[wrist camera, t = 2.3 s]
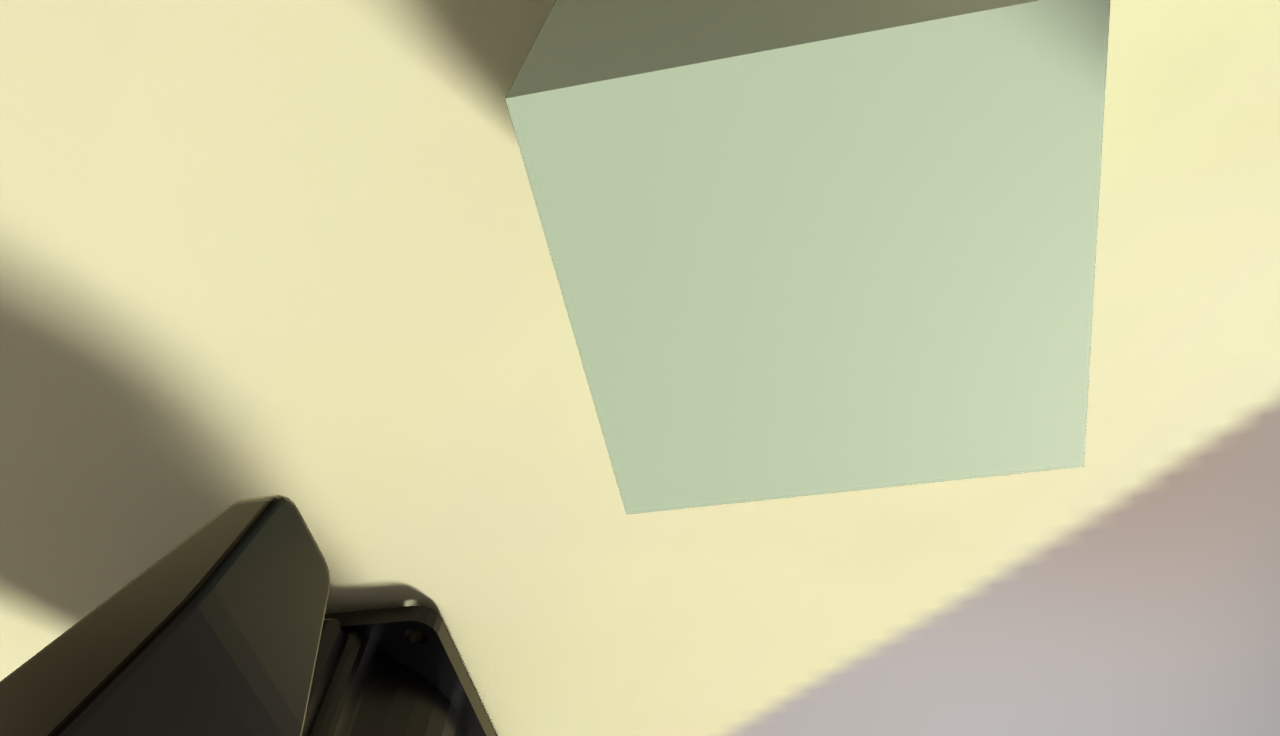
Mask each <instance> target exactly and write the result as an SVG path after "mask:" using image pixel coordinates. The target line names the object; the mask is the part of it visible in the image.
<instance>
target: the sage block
mask: <svg viewBox="0 0 1280 736" xmlns="http://www.w3.org/2000/svg"><path fill="white" fill-rule="evenodd" d="M1109 15H1110V0H556V1H555V3H554V5H553V7H552V9H551V11H550V13H549V15H548V17H547V19H546V21H545V22H544V24H543V26H542V28H541V30H540V32H539V34H538V36H537V38H536V40H535V42H534V44H533V46H532V48H531V50H530V52H529V53H528V55H527V57H526V59H525V61H524V63H523V65H522V67H521V69H520V71H519V73H518V75H517V77H516V79H515V81H514V83H513V84H512V86H511V88H510V90H509V92H508V94H507V96H506V98H505V100H506V103H507V107H508V110H509V113H510V117H511V120H512V124H513V127H514V131H515V134H516V137H517V141H518V144H519V148H520V151H521V155H522V158H523V161H524V165H525V168H526V172H527V175H528V179H529V182H530V185H531V189H532V192H533V196H534V199H535V203H536V206H537V209H538V213H539V216H540V220H541V223H542V227H543V230H544V234H545V237H546V240H547V244H548V247H549V251H550V254H551V258H552V261H553V264H554V268H555V271H556V275H557V278H558V282H559V285H560V288H561V292H562V295H563V299H564V302H565V306H566V309H567V312H568V316H569V319H570V323H571V326H572V330H573V333H574V336H575V340H576V343H577V347H578V350H579V354H580V357H581V360H582V364H583V367H584V371H585V374H586V378H587V381H588V385H589V388H590V391H591V395H592V398H593V402H594V405H595V409H596V412H597V415H598V419H599V422H600V426H601V429H602V433H603V436H604V439H605V443H606V446H607V450H608V453H609V457H610V460H611V463H612V467H613V470H614V474H615V477H616V481H617V484H618V487H619V491H620V494H621V498H622V501H623V505H624V508H625V512H626V514H635V513H645V512H654V511H664V510H674V509H683V508H693V507H702V506H712V505H722V504H731V503H741V502H750V501H760V500H769V499H779V498H789V497H798V496H808V495H817V494H827V493H837V492H846V491H856V490H865V489H875V488H885V487H894V486H904V485H913V484H923V483H933V482H942V481H952V480H961V479H971V478H980V477H990V476H1000V475H1009V474H1019V473H1028V472H1038V471H1048V470H1057V469H1067V468H1076V467H1084V454H1085V437H1086V419H1087V402H1088V384H1089V366H1090V349H1091V331H1092V314H1093V296H1094V279H1095V261H1096V243H1097V226H1098V208H1099V191H1100V173H1101V156H1102V138H1103V120H1104V103H1105V85H1106V68H1107V50H1108V33H1109Z"/></svg>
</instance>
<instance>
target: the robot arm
mask: <svg viewBox="0 0 1280 736" xmlns="http://www.w3.org/2000/svg"><path fill="white" fill-rule="evenodd" d="M329 587H330V578H329V571H328V567H327V563H326V561H325V559H324V557H323V555H322V553H321V551H320V549H319V547H318V545H317V544H316V542H315V540H314V538H313V536H312V534H311V532H310V531H309V529H308V527H307V525H306V523H305V521H304V519H303V517H302V516H301V514H300V512H299V510H298V508H297V507H296V505H295V504H294V502H292V501H291V500H290V499H289V498H287V497H285V496H281V495H274V496H265V497H256V498H247V499H243V500H239V501H237V502H235V503H233V504H232V505H230V506H229V507H228V508H227V509H225V510H224V511H223V512H221V513H220V514H219V515H217V516H216V517H215V518H213V519H212V520H211V521H210V522H208V523H207V524H206V525H204V526H203V527H202V528H200V529H199V530H198V531H196V532H195V533H194V534H193V535H191V536H190V537H189V538H187V539H186V540H185V541H183V542H182V543H181V544H180V545H178V546H177V547H176V548H174V549H173V550H172V551H170V552H169V553H168V554H166V555H165V556H164V557H163V558H161V559H160V560H159V561H157V562H156V563H155V564H153V565H152V566H151V567H149V568H148V569H147V570H146V571H144V572H143V573H142V574H140V575H139V576H138V577H136V578H135V579H134V580H132V581H131V582H130V583H129V584H127V585H126V586H125V587H123V588H122V589H121V590H119V591H118V592H117V593H116V594H114V595H113V596H112V597H110V598H109V599H108V600H106V601H105V602H104V603H102V604H101V605H100V606H99V607H97V608H96V609H95V610H93V611H92V612H91V613H89V614H88V615H87V616H85V617H84V618H83V619H82V620H80V621H79V622H78V623H76V624H75V625H74V626H72V627H71V628H70V629H68V630H67V631H66V632H65V633H63V634H62V635H61V636H59V637H58V638H57V639H55V640H54V641H53V642H51V643H50V644H49V645H48V646H46V647H45V648H44V649H42V650H41V651H40V652H38V653H37V654H36V655H35V656H33V657H32V658H31V659H29V660H28V661H27V662H25V663H24V664H23V665H21V666H20V667H19V668H18V669H16V670H15V671H14V672H12V673H11V674H10V675H8V676H7V677H6V678H4V679H3V680H2V681H1V682H0V736H497V735H496V733H495V731H494V729H493V727H492V725H491V723H490V720H489V718H488V716H487V714H486V712H485V710H484V708H483V705H482V703H481V701H480V699H479V697H478V695H477V693H476V691H475V688H474V686H473V684H472V682H471V680H470V678H469V676H468V673H467V671H466V669H465V667H464V665H463V663H462V661H461V659H460V656H459V654H458V652H457V650H456V648H455V646H454V644H453V642H452V639H451V637H450V635H449V633H448V631H447V629H446V627H445V624H444V622H443V620H442V619H441V617H440V616H439V615H438V614H437V613H435V612H434V611H432V610H431V609H428V608H425V607H419V606H410V607H399V608H387V609H376V610H365V611H354V612H342V613H331V614H325V611H326V606H327V600H328V595H329Z"/></svg>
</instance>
